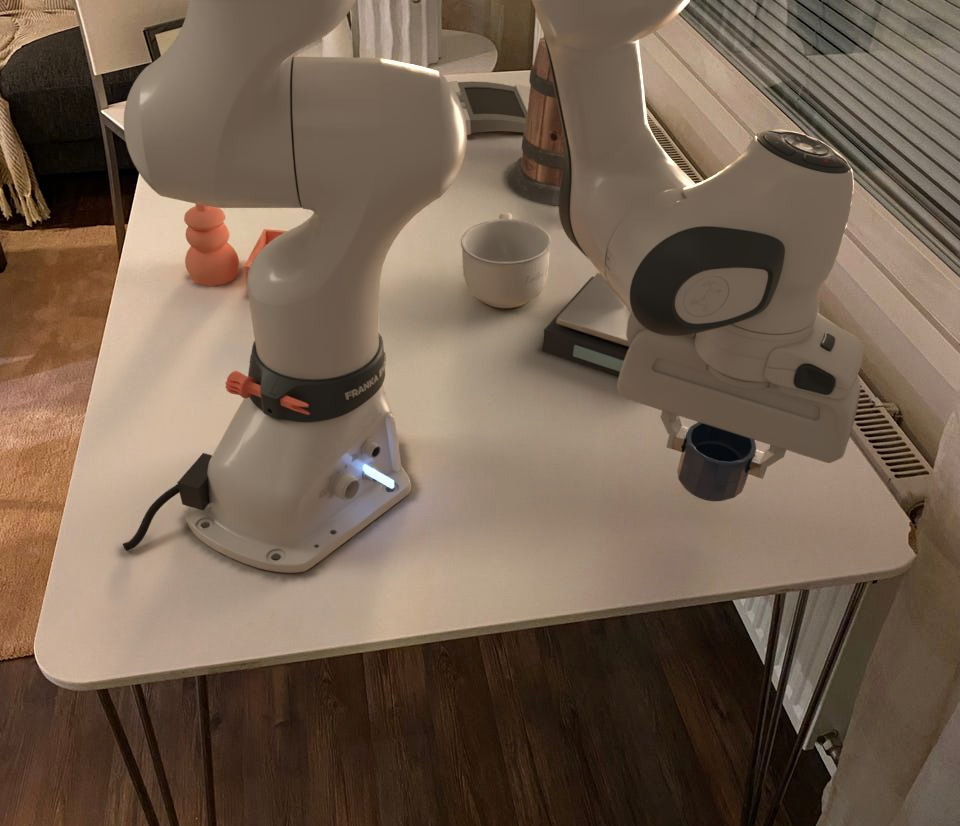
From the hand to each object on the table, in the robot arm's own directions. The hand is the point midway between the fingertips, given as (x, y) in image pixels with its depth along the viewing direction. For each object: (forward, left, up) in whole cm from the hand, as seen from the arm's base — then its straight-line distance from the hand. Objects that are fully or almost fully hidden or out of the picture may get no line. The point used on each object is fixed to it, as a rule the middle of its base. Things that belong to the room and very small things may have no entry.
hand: (716, 459), depth 88 cm
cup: (0, 0, -3) cm, 3 cm away
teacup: (+27, +35, -8) cm, 45 cm away
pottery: (+13, +63, -8) cm, 65 cm away
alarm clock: (+75, +62, -8) cm, 98 cm away
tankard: (+57, +40, -8) cm, 71 cm away
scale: (+24, +18, -7) cm, 31 cm away
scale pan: (+24, +18, -4) cm, 31 cm away
